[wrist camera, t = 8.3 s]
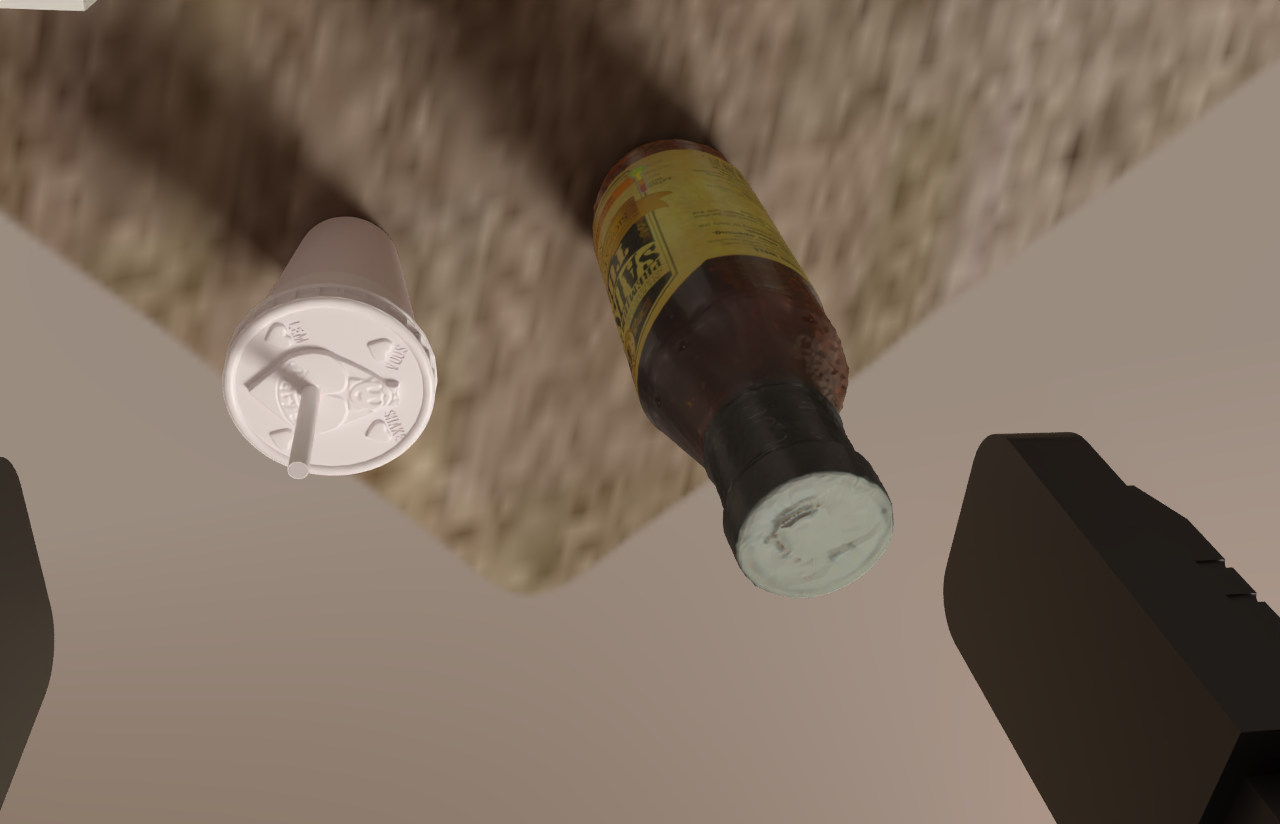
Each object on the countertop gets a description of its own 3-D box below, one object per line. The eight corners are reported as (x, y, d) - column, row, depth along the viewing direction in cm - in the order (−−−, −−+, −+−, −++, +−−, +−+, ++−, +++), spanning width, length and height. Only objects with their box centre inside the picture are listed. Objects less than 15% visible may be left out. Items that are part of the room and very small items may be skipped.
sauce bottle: (579, 141, 42) (679, 426, 25) (746, 122, 43) (950, 388, 26) (594, 301, 46) (690, 646, 29) (748, 282, 46) (931, 608, 30)
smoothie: (255, 175, 41) (186, 362, 29) (438, 186, 42) (443, 371, 30) (262, 335, 44) (203, 564, 32) (432, 342, 46) (435, 564, 34)
